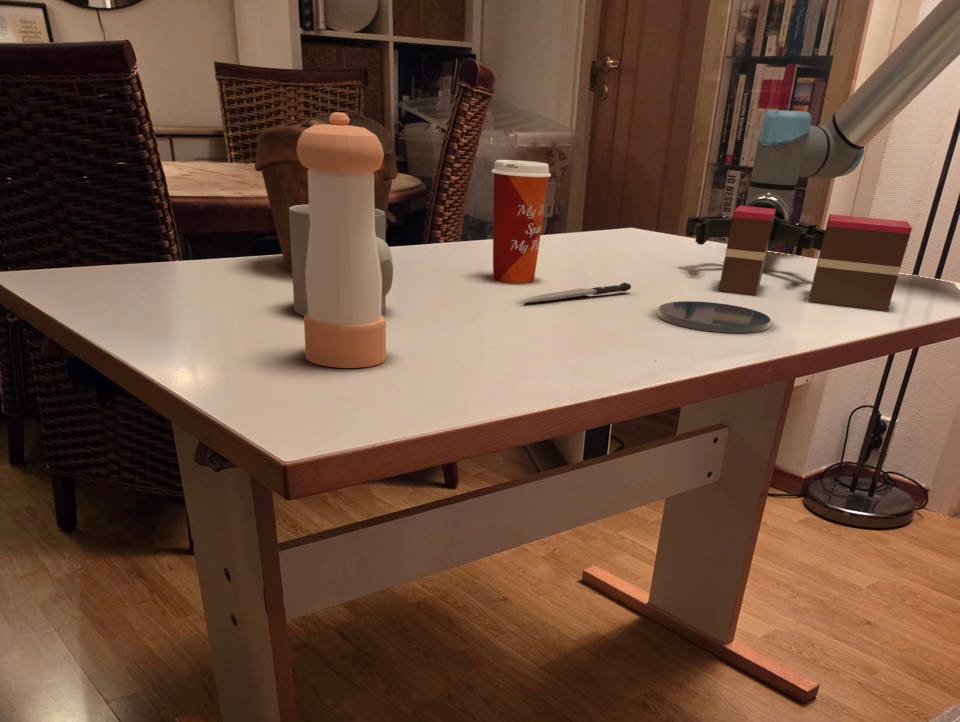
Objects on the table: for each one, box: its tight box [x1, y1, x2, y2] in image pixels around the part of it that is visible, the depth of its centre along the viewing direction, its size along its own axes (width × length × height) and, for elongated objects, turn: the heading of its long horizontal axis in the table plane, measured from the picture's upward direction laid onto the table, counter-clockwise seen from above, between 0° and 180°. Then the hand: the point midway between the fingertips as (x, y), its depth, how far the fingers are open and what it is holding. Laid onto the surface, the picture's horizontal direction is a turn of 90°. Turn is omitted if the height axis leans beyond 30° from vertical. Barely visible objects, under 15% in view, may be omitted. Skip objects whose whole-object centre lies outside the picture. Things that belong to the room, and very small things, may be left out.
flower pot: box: [254, 112, 399, 272], centre depth 111 cm, size 18×20×18 cm
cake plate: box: [657, 300, 771, 334], centre depth 102 cm, size 13×13×1 cm
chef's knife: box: [523, 281, 632, 303], centre depth 109 cm, size 19×1×3 cm
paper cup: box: [490, 159, 552, 284], centre depth 113 cm, size 8×8×14 cm
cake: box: [808, 213, 913, 312], centre depth 115 cm, size 10×8×10 cm
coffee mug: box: [289, 204, 394, 317], centre depth 91 cm, size 13×10×10 cm
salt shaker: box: [296, 111, 387, 369], centre depth 74 cm, size 7×7×19 cm
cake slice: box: [718, 205, 776, 296], centre depth 118 cm, size 5×8×10 cm, turn 161°
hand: (750, 239), depth 121 cm, fingers open, 13 cm apart
